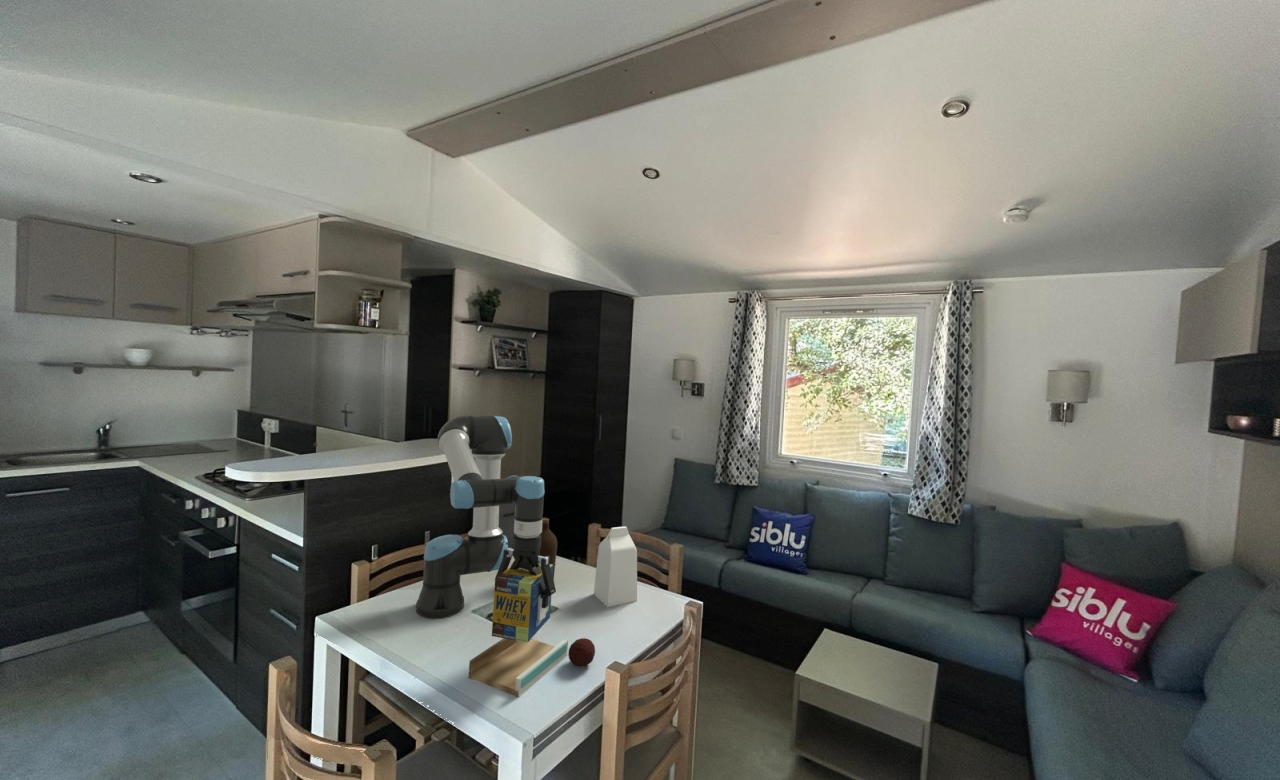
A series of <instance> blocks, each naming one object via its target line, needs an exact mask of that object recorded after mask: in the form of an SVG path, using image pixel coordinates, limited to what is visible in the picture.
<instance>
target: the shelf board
mask: <svg viewBox="0 0 1280 780" xmlns="http://www.w3.org/2000/svg"><path fill="white" fill-rule="evenodd" d="M555 646H556V645H551V644H549V643H545V642H543V641H539V640H537V639H536V640H535V639H533V638H531V639H530V641H529V642H528V643H526V642H521V641H517V642H516V643H515V644H513V645H512V646H510V647H509V648H507V649H506V650H505V651H503V652H502V653H500V654H499V655H497V656H496V657H494V658H493V659H492V660H490V661H489V662H487V663H486V664H484V665H483V666H482V667H480V668H479V669H477V670H476V671H474V672H473V673H472V674H471V673H470V672H469V671H468V676H467V678H468V679H471V680H473V681H475V682H478V683H481V684H483V685H487V686H489V687H491V688H494V689H497V690H499V691H501V692H503V693H506V694H508V695H511V696H515V695H517V694H516V692H517V693H518V695H517V696H515V697H518V696H519V692H518V691H517V690H515V685H516V677H518V676H519V675H520V674H521V673H523V672H524V671H525V670H526V669H528V668H529V667H530V666H531V665H533V664H534V663H535V662H536V661H538V660H539V659H540V658H542V657H543V656H544V655H545V654H547V653H548V652H549V651H550V650H552V649H553V648H554V647H555ZM471 677H472V678H471ZM515 691H516V692H515ZM518 698H519V697H518Z"/></svg>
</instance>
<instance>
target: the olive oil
mask: <svg viewBox="0 0 1280 780" xmlns="http://www.w3.org/2000/svg"><path fill="white" fill-rule="evenodd" d="M540 535H541V548H540V555H541V556H543V557H546V556H549V557H550V564H551V565H553V581H554V582H555V572H556V571H555V570H556V569H555V568H556V559H557V552H558V540H557V536H556V535H555V534H554V533H553V531H552V530H550V519H549V518H548V517H542V533H541V534H540ZM539 563H540V562H539Z"/></svg>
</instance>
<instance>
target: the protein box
mask: <svg viewBox="0 0 1280 780" xmlns="http://www.w3.org/2000/svg"><path fill="white" fill-rule="evenodd" d="M539 565H540V564H539ZM540 567H541V565H540ZM550 568H551V572H552V577H553V565H551V564H550ZM533 569H535V567H534V568H533ZM540 570H541V569H540ZM541 572H542V571H541ZM495 577H496V576H495ZM495 577H494V590H493V591H494V592H493V605H492V606H493V607H492V608H493V611H492V627H491V628H492V629H491V637H494V638H495V637H496V638H500V639H503V638H505V639H510V640H515V641H521V642H526V643H528V642H529V641H530V639H533V637H534V636H535V635H536V634H537V632H538V631H540V629H542V627H543V626H544V625H545V624H546V623H547V621H549V619H550V618H551V606H552V605H551V604H552V595H550V596H549V604H548V607H546V616H545V618H543V619H542V620H540V621H537V615H538V597H539V596H540V595H541V593H540V591H539V582H540V580H541V579H542V577H543V575H542V573H541V574H539V575H537V576H536V575H533V574H531V573H530V572H529V570H526V569H524V568H519V567H518V568H516V569H514V570H513V569H510V567H508V569H507V570H506V571H504V572H503V573H502V574H500V575H499V576H498V577H496V578H495Z"/></svg>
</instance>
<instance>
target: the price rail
mask: <svg viewBox="0 0 1280 780" xmlns="http://www.w3.org/2000/svg"><path fill="white" fill-rule="evenodd" d="M554 646H555V647H554V648H553V649H552V650H550V651H549V652H548V653H547V654H545V655H544V656H543V657H542V658H540V659H539V660H538V661H536V662H535V663H534V664H533V665H531V666H530V667H529V668H528V669H526V670H525V671H524V672H523V673H521V674H520V675H519V676H518V677H516V685H515V690H517V691H518V692H519V696H518V698H520V697H521V696H522V695H523V694H525V693H526V692H527V691H528V690H529V689H530V688H532V686H534V685H535V684H536V683H537V682H539V681H540V680H541V679H542V678H544V676H545V675H547V674H548V673H549V672H550V671H551V670H552V669H554V668H555V667H556V666H557V665H559V663H560V662H562V661H563V660H564V659H565V658H566V657H568V651H569V649H568V648H569V640H568V639H566V638H564V639H563V640H562V641H560V642H559V643H558V644H556V645H554ZM515 692H516V691H515ZM516 694H517V695H518V693H517V692H516ZM517 695H515V697H517Z"/></svg>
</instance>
